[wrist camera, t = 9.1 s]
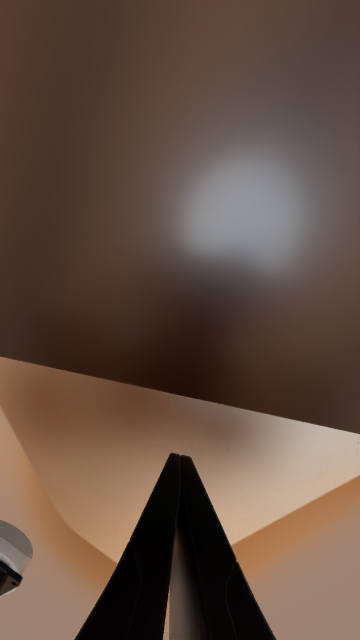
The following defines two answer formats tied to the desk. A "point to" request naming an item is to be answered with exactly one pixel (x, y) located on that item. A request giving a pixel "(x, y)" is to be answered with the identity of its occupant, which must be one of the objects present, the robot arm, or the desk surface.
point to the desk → (185, 198)
